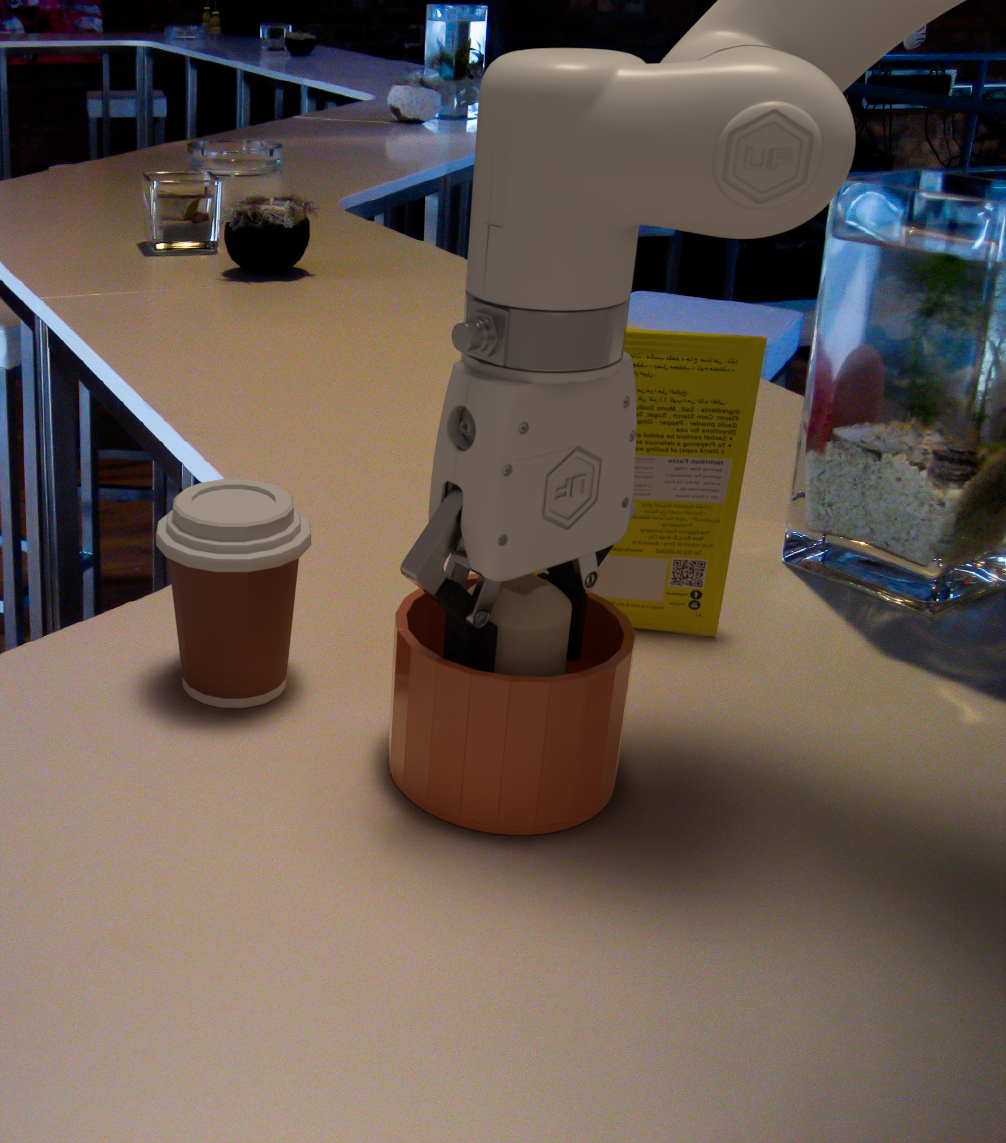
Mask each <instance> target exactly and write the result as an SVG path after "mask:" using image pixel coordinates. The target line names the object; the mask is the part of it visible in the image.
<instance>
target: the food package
mask: <svg viewBox="0 0 1006 1143" xmlns="http://www.w3.org/2000/svg"><path fill="white" fill-rule="evenodd" d="M767 341H768V337H767V336H764V335H763V336H762V335H761V336H760V335H748V334H747V335H745V334H729V333H712V332H694V331H677V330H662V329H661V330H660V329H643V328H642V329H641V328H628V327H627V328H626V336H625V344H624V352H626V353H628V354H629V355H630V356H631V357H632V363H633V370H634V377H635V390H636V418H637V424H636V453H635V469H634V483H633V493H632V500H633V501H634V503H635V505H636V510H635V513H634V514H633V516H632V517H631V519H630V520H629V522H628V527H627V530H626V532H625V534H624V535H623V536H622V537H621V539H619V540H618V541H617V542H616V543H614V545H613V547H612V549H611V550H610V552H609V553H608V554H607V556H606V557H605V559H604V560H603V561H602V563H601V564H600V566H599V567H598V570H599V580H598V583H597V584H596V586H595V587H594V588H593V589H591V590H589V591H590V592H592V593H594V594H596V595H598V596H600V597H602V598H604V599H606V600H608V601H609V602H611V603H612V604H613V605H615V606H616V607H617V608H618V609H619V610H620V611H622V612H623V613H624V614H625V615H626V616H627V617H628V618H629V620H630V623H631V625H632V627H633V629H637V630H638V629H639V630H650V631H659V632H670V633H679V634H688V635H697V636H707V637H717V635H718V630H719V622H720V618H721V611H722V606H723V600H724V595H725V594H724V593H725V587H726V583H727V582H726V581H727V575H728V571H729V566H730V559H731V551H732V546H733V541H734V535H735V529H736V523H737V518H738V511H739V507H740V506H739V505H740V500H741V494H742V489H743V488H742V487H743V482H744V476H745V470H746V464H747V458H748V453H749V447H750V441H751V435H752V429H753V424H754V418H755V412H756V406H757V401H758V400H757V399H758V396H759V395H758V394H759V388H760V382H761V377H762V370H763V364H764V359H765V358H764V357H765V353H766V346H767ZM542 572H545V573H547V574H548V573H549V572H548V571H547V570H546V569H544V570H541V571H538V572H535V573H532V574H534V575H535V576H537V574H539V573H542Z"/></svg>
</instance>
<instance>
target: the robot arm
mask: <svg viewBox="0 0 1006 1143" xmlns="http://www.w3.org/2000/svg"><path fill="white" fill-rule="evenodd" d="M966 1H967V0H716V1H715V3H714V4H713V5H712V6H711V7H710V8H709V9H708V10H707V11H706V12H705V13H704V14H703V15H702V16H701V17H700V18H699V19H698V20H697V21H696V22H695V24H694V25H692V26H691V28H690V29H689V30H688V31H687V32H686V33H685V34H684V35H683V36H682V37H681V38H680V40H678V42H677V43H675V45H674V46H673V47H672V48H671V49H670V51H669V52H668V53H666V55H665V56H664V57H663V58H662V59H661V61H660V62H659V63H647V62H645V61H644V60H643V59H642V58H640V57H639V56H636V55H633V54H631V53H628V52H624V51H618V50H611V49H601V48H583V47H580V48H579V47H548V48H547V47H545V48H544V47H543V48H542V47H541V48H529V49H528V48H527V49H521V50H515V51H514V50H513V51H510V52H507V53H505V54H502V55H500V56H498V57H497V58H496V59H494V60H493V61H492V62H491V63H490V64H489V66H488V67H487V68H486V69H485V72H484V74H483V75H482V79H481V83H480V86H479V87H480V88H479V94H478V95H479V96H478V103H477V104H478V105H477V116H476V132H475V148H474V163H473V176H472V177H473V178H472V190H471V191H472V193H471V210H470V221H469V222H470V223H469V235H468V249H467V250H468V251H467V261H466V262H467V263H466V275H465V276H466V277H465V296H464V306H463V307H464V308H463V310H464V311H463V322H458V323H456V324H455V325H454V326H453V328H452V330H451V342H452V345H453V347H454V348H455V349H456V351H457V352H460V360H458V361H455V362H454V363H453V366H452V370H451V373H450V377H449V380H448V383H447V388H446V391H445V396H444V400H443V403H442V404H443V405H442V409H441V414H440V418H439V425H438V428H437V436H436V441H435V448H434V455H433V462H432V470H431V471H432V472H431V478H430V489H429V501H428V522H427V524H426V526H425V527H424V529H423V530H422V531H421V534H420V535H419V536H418V538H417V539H416V540H415V542H414V544H413V545H412V546H411V548H410V549H409V551H408V552H407V554H406V556H404V558H403V560H402V562H401V564H400V568H399V570H400V574H401V575H403V576H404V577H405V578H406V579H407V580H409V581H410V582H411V583H413V584H414V585H415V586H417V587H418V588H421V589H422V590H423V591H424V592H425V593H426V594H427V595H428V596H429V597H430V598H431V599H432V600H434V601H435V602H436V605H437V606H438V607H439V608H440V609H442V610H444V611H446V621H445V636H444V650H443V658H444V659H446V660H449V661H452V662H455V663H458V664H461V665H463V666H466V667H469V668H472V669H475V670H479V671H485V672H491V673H494V668H495V657H496V646H497V635H498V629H497V625H495V624H494V623H492V622H490V621H488V620H489V618H490V615H491V613H492V610H493V607H494V604H495V601H496V598H497V595H498V592H499V589H500V587H501V584H502V581H508V580H512V579H515V578H519V577H522V576H525V575H528V574H531V573H535V572H538V571H541V570H544V569H546V570H547V571H548V572H549V573H548V574H547V573H545V572H542V573H539V574H537V577H540V578H542V579H544V580H547V581H548V582H550V583H552V584H553V585H555V586H556V587H557V588H559V589H560V590H561V591H562V592H563V593H564V594H565V595H566V597H567V598H568V599H569V600H570V602H571V605H572V613H571V621H570V630H569V639H568V648H567V656H566V660H567V661H573V660H576V659H578V658H580V656H581V649H582V640H583V632H584V624H585V615H586V607H587V599H588V594H587V593H585V591H586V590H587V591H589V590H591V589H593V588H594V587H595V586H596V584H597V583H598V580H599V570H598V567H599V566H600V564H601V563H602V561H603V560H604V559H605V557H606V556H607V554H608V553H609V552H610V550H611V549H612V547H613V545H614V543H616V542H617V541H618V540H619V539H621V537H622V536H623V535H624V534H625V532H626V530H627V527H628V522H629V520H630V519H631V517H632V516H633V514H634V513H635V510H636V505H635V503H634V501H633V500H632V493H633V483H634V469H635V453H636V424H637V418H636V390H635V377H634V370H633V363H632V357H631V356H630V355H629V354H628V353H626V352H624V344H625V336H626V328H627V329H628V319H629V311H630V303H631V296H632V289H633V280H634V272H635V266H636V265H635V264H636V257H637V256H636V255H637V247H638V241H639V231H640V225H644V226H650V227H657V228H663V229H670V230H676V231H681V232H687V233H693V234H698V235H704V236H711V237H716V238H725V239H736V240H748V239H749V240H752V239H753V240H754V239H760V238H766V237H767V238H768V237H771V236H775V235H779V234H782V233H783V234H784V233H786V232H787V231H790V230H793V229H795V228H797V227H799V226H801V225H803V224H805V223H806V222H808V221H810V220H811V219H813V218H814V217H815V216H817V215H818V214H819V213H821V212H822V211H823V210H824V209H825V208H826V207H827V206H828V205H829V204H830V203H831V202H832V201H833V199H834V198H835V197H836V195H838V193H839V192H840V190H841V189H842V187H843V185H844V183H845V181H846V179H847V177H848V176H849V173H850V171H851V168H852V164H853V162H854V156H855V150H856V127H855V122H854V117H853V113H852V110H851V106H850V105H849V103H848V101H847V99H846V97H845V95H844V94H843V93H844V92H845V91H846V90H847V89H848V88H850V86H852V85H853V84H854V83H855V82H856V81H857V80H858V79H859V78H860V77H861V76H863V74H865V73H866V72H867V71H868V70H869V69H870V68H871V67H873V66H874V65H875V64H876V63H877V62H878V61H880V60H881V59H883V57H884V56H886V55H887V54H888V53H889V52H891V51H892V50H893V49H894V48H896V47H897V46H898V45H899V44H901V43H902V42H903V41H905V40H906V39H907V38H908V37H910V36H912V34H915V33H916V32H917V31H919V30H920V29H921V28H923V27H924V26H926V25H927V24H929V23H931V22H932V21H933V20H936V18H938V17H940V16H941V15H943V14H945V13H946V12H948V11H950V10H952V9H953V8H955V7H956V6H959V5H960V4H962V3H964V2H966ZM447 560H448V561H447ZM446 561H447V564H446V567H445V563H446ZM470 572H472V573H473V574H475V573H476V574H478V575H479V576H478V579H477V582H476V585H475V588H474V591H473V594H472V595H471V594H470V593H469V592H468V591H467V590H466V589H465V588H464V587H465V584H466V581H467V578H468V575H469V574H471V573H470Z"/></svg>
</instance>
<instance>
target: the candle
mask: <svg viewBox="0 0 1006 1143" xmlns="http://www.w3.org/2000/svg"><path fill="white" fill-rule="evenodd" d="M475 585H476V584H475ZM475 585H474V586H472V587H471V588H470V589H469V590H468V592H469V593H470V594H471V595H472V594H473V591H474V588H475ZM571 613H572V605H571V602H570V600H569V599H568V598H567V597H566V595H565V594H564V593H563V592H562V591H561V590H560V589H559V588H557V587H556V586H555V585H553V584H552V583H550V582H548V581H547V580H544V579H542V578H540V577H537V576H535V575H534V574H532V573H531V574H528V575H525V576H522V577H519V578H515V579H512V580H508V581H502V584H501V587H500V589H499V592H498V595H497V598H496V601H495V604H494V607H493V610H492V613H491V615H490V618H489V620H488V621H490V622H492V623H494V624H495V625H497V629H498V635H497V646H496V657H495V668H494V673H497V674H502V675H508V676H533V677H550V676H557V675H564V674H565V665H566V656H567V648H568V639H569V630H570V621H571Z"/></svg>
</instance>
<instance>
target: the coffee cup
mask: <svg viewBox="0 0 1006 1143" xmlns="http://www.w3.org/2000/svg"><path fill="white" fill-rule="evenodd" d="M155 546H156V547H157V548H158V549H159V551H160V552H161V553H162V555H164V556H165V557H166V558H167V560H168V566H169V574H170V583H171V584H170V585H171V592H172V593H171V594H172V600H173V610H174V617H175V626H176V635H177V643H178V644H177V645H178V651H179V660H180V669H181V678H182V688H183V689H184V691H185V692H186V693H187V695H188V696H189V697H191V698H193V699H195V700H197V701H198V702H200V703H202V704H204V705H208V706H213V707H217V708H222V709H246V708H251V707H256V706H261V705H265V704H267V703H269V702H271V701H272V700H274V699H276V698H278V697H280V696H281V694H282V693H283V691H284V690H285V689H286V688H287V677H288V668H289V658H290V657H289V656H290V649H291V639H292V638H291V637H292V630H293V622H294V621H293V620H294V610H295V600H296V590H297V581H298V573H299V563H300V558H301V557H302V556H303V555H304V554H305V553H306V552H307V551H308V549H310V547H311V546H312V528H311V522H310V520H309V519H307V518H306V517H305V516H304V515H303V514H302V513H300V512H299V510H297V509H295V503H294V497H292V495H290V494H289V493H288V492H287V491H285V489H283V488H282V487H280V486H277V485H275V484H271V483H269V482H266V481H261V480H254V479H248V478H221V479H216V480H209V481H202V482H199V483H197V484H193V485H191V486H188V487H185V489H184V490H182V491H181V492H180V493H178V494H177V495H176V496H175V497H174V498H173V504H172V509H171V510H170V511H169V512H168V513H167V514H166V515H164V516H163V517H161V519H160V520H158V522H157V527H156V532H155Z"/></svg>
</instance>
